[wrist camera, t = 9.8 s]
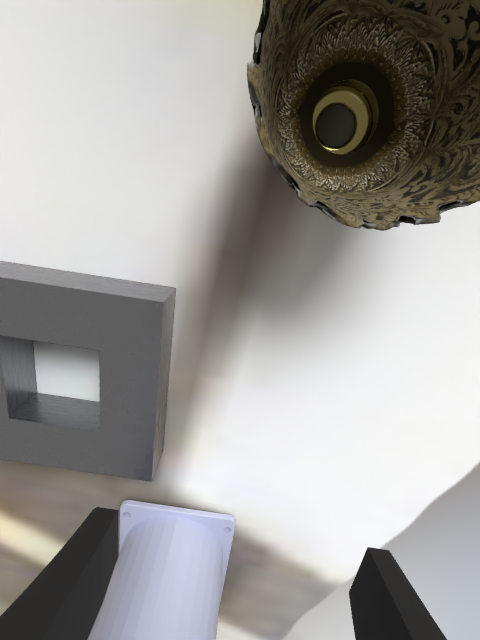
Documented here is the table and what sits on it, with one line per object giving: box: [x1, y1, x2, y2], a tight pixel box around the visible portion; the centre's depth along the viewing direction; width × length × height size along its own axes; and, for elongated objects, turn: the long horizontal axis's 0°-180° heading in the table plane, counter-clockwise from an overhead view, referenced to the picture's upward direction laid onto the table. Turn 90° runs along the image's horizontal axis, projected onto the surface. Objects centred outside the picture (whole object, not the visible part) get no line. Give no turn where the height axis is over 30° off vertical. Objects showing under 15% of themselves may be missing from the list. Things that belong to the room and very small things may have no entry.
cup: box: [247, 0, 480, 231], centre depth 11 cm, size 8×7×8 cm
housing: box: [0, 261, 176, 481], centre depth 19 cm, size 11×11×2 cm
